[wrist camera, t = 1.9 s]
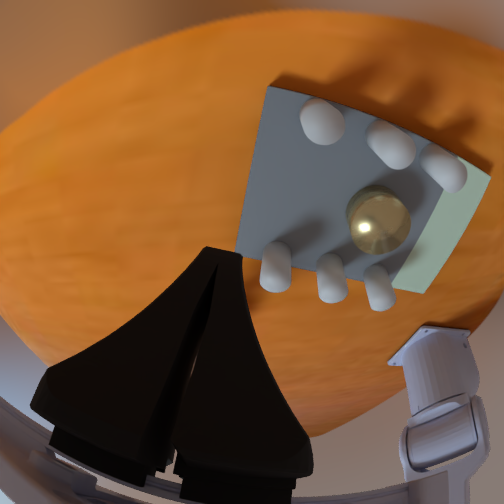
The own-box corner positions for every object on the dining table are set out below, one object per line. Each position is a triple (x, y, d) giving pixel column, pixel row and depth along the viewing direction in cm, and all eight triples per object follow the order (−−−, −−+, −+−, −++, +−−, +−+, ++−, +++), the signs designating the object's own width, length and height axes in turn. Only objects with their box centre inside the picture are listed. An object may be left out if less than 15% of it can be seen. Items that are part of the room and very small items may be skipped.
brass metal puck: (409, 194, 16) (420, 209, 14) (386, 242, 18) (394, 259, 17) (357, 177, 15) (365, 191, 14) (337, 230, 18) (342, 247, 16)
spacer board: (484, 171, 14) (513, 196, 11) (419, 285, 22) (433, 319, 18) (268, 85, 14) (264, 89, 10) (236, 246, 21) (227, 282, 18)
